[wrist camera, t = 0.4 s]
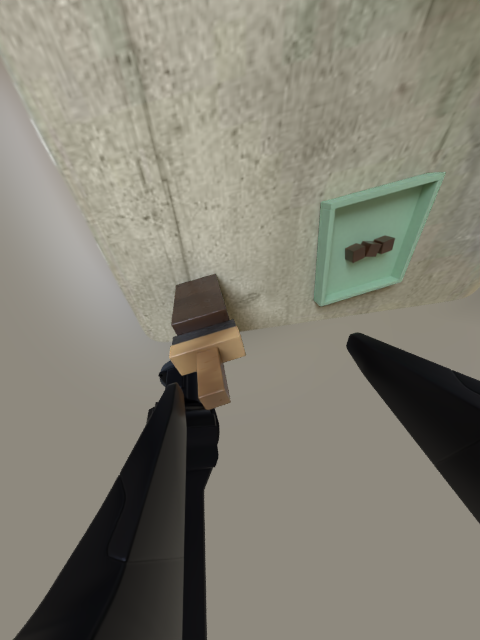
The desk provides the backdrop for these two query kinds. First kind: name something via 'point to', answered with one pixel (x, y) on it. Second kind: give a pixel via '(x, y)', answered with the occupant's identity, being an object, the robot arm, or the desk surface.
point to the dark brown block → (198, 305)
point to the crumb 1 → (355, 252)
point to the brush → (208, 359)
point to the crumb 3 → (385, 243)
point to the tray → (371, 235)
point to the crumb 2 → (371, 248)
